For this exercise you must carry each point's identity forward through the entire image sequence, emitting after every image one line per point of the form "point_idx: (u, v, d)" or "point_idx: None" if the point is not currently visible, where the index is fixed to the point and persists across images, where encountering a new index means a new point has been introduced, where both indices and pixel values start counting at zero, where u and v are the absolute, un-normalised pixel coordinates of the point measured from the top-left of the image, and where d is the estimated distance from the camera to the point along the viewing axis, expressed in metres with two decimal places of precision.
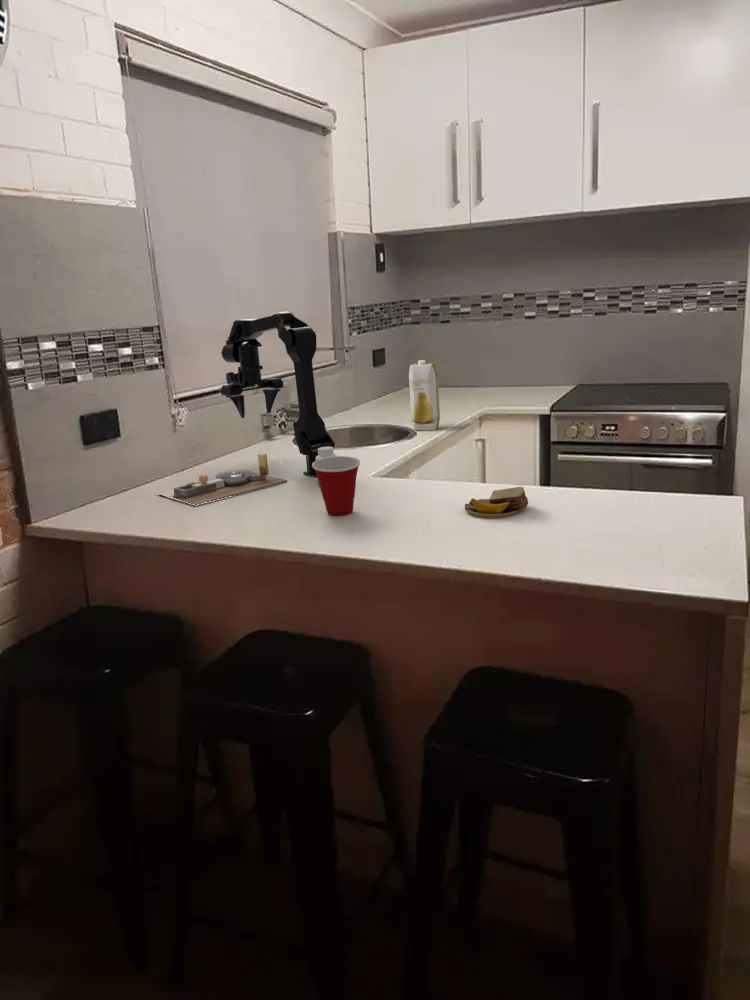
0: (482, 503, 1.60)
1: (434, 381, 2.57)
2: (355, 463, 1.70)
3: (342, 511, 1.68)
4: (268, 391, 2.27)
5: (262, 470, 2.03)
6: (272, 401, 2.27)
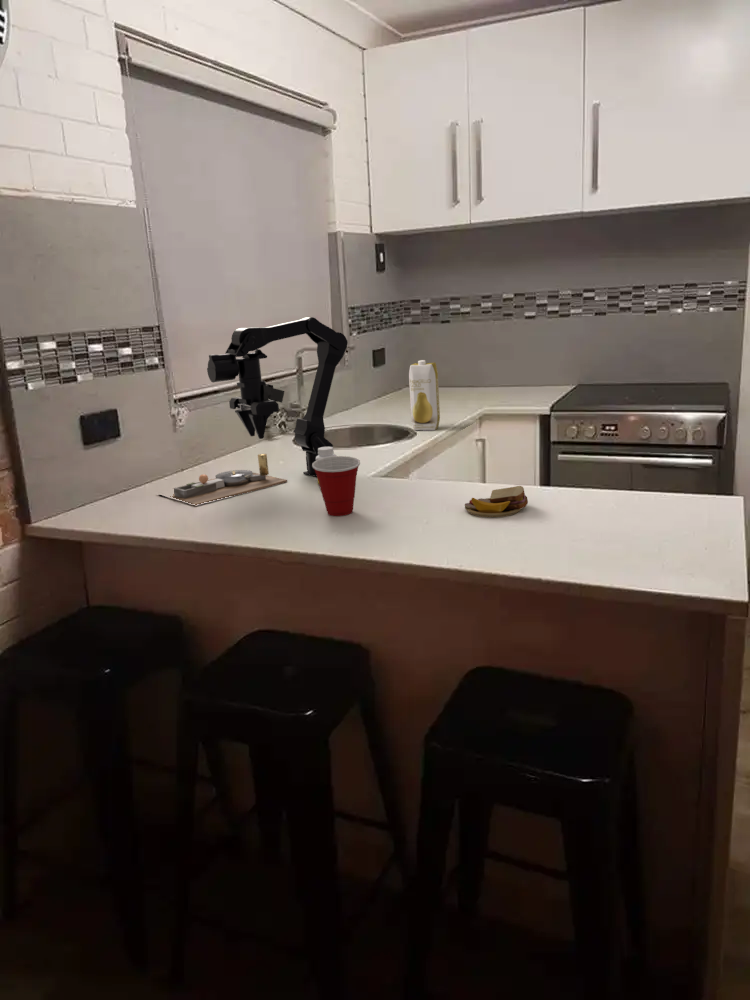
0: (482, 502, 1.61)
1: (434, 381, 2.57)
2: (355, 463, 1.70)
3: (342, 511, 1.68)
4: None
5: (262, 470, 2.03)
6: (254, 426, 1.93)
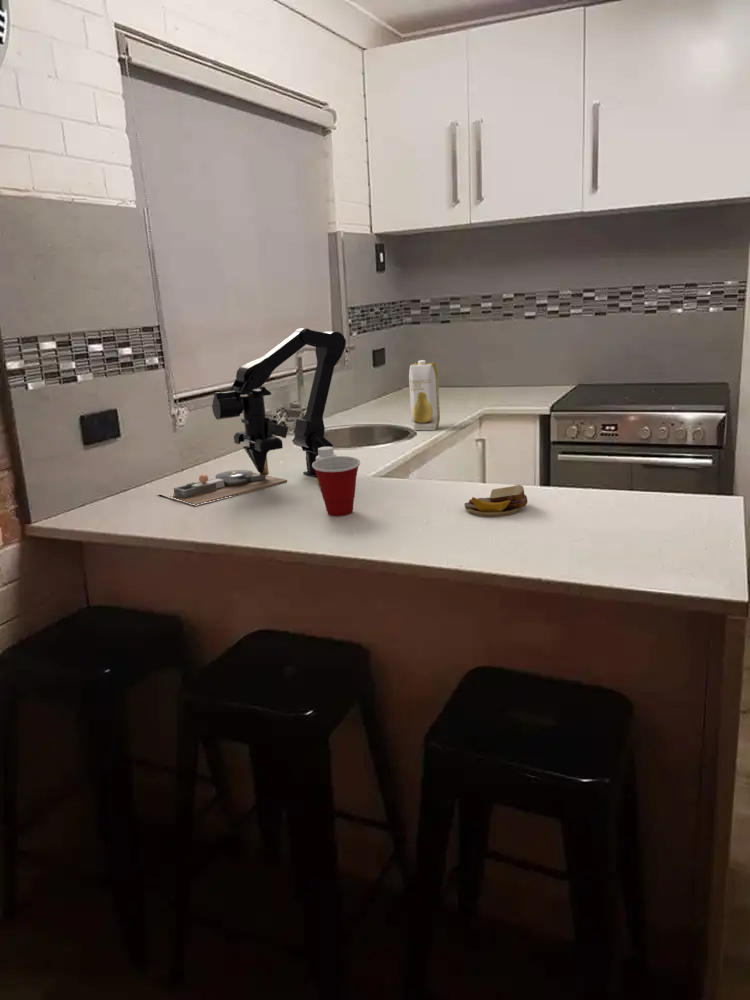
0: (483, 502, 1.61)
1: (434, 381, 2.57)
2: (355, 463, 1.70)
3: (342, 511, 1.68)
4: None
5: None
6: (254, 460, 1.98)
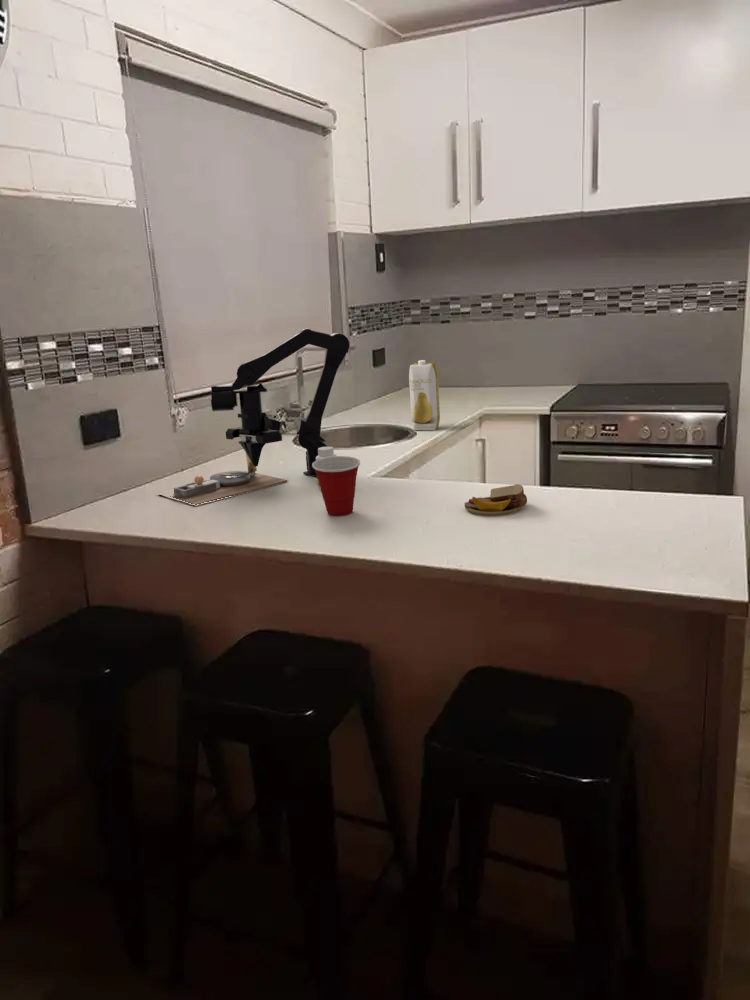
0: (483, 501, 1.62)
1: (434, 381, 2.57)
2: (355, 463, 1.70)
3: (342, 511, 1.68)
4: None
5: (254, 466, 2.09)
6: (250, 454, 2.04)
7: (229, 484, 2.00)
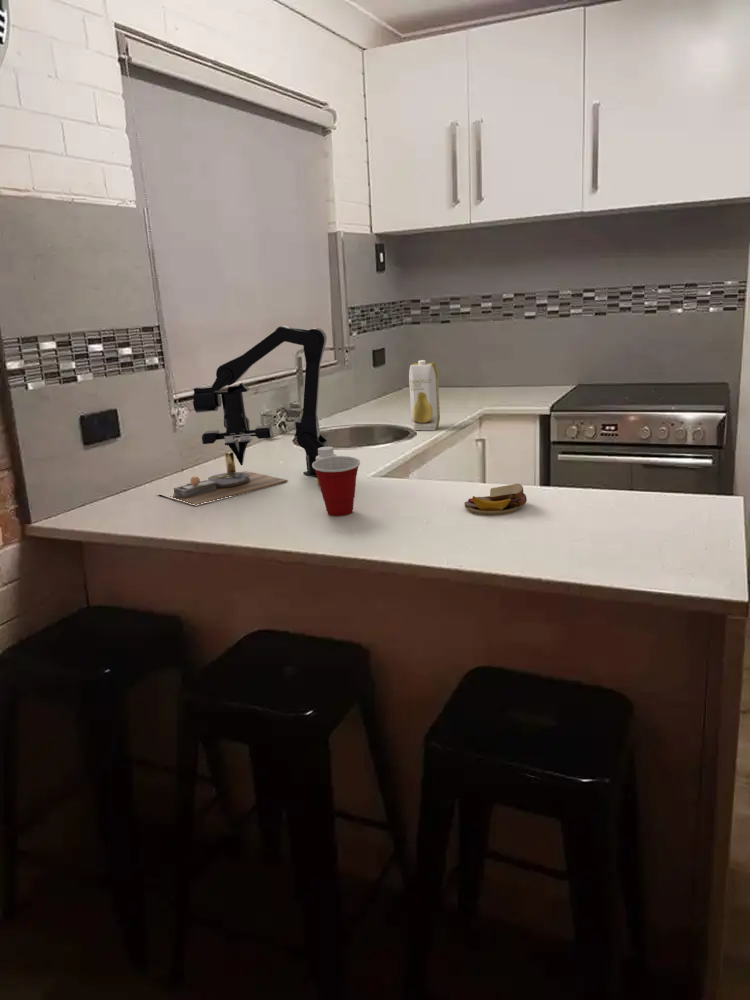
0: (483, 500, 1.62)
1: (434, 381, 2.57)
2: (355, 463, 1.70)
3: (342, 511, 1.68)
4: None
5: None
6: (241, 453, 2.07)
7: (241, 483, 2.00)
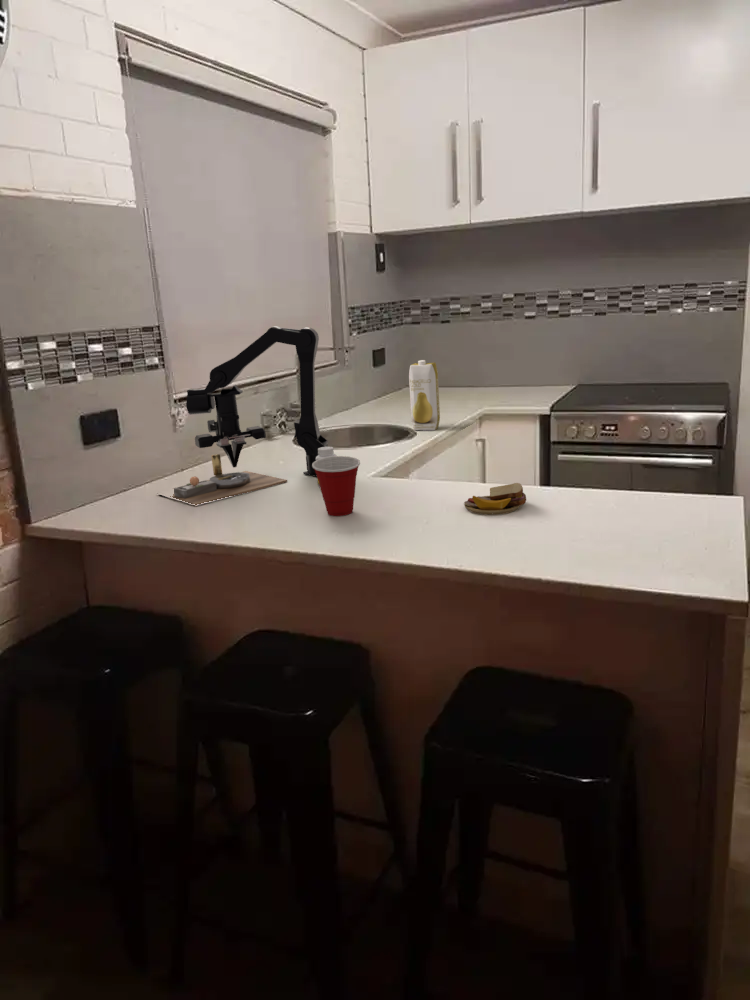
0: (483, 500, 1.62)
1: (434, 381, 2.57)
2: (355, 463, 1.70)
3: (342, 511, 1.68)
4: (234, 444, 2.09)
5: (221, 468, 2.09)
6: (237, 455, 2.08)
7: (246, 481, 2.02)
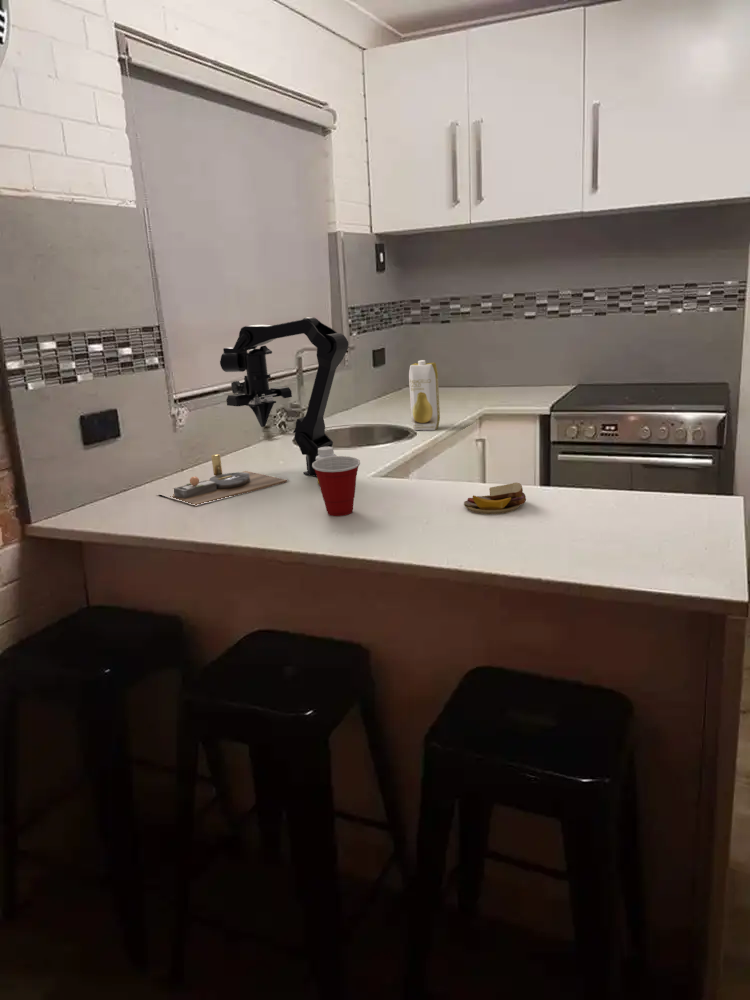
0: (484, 500, 1.63)
1: (434, 381, 2.57)
2: (355, 463, 1.70)
3: (342, 511, 1.68)
4: None
5: (221, 468, 2.09)
6: (267, 414, 2.13)
7: (246, 481, 2.02)
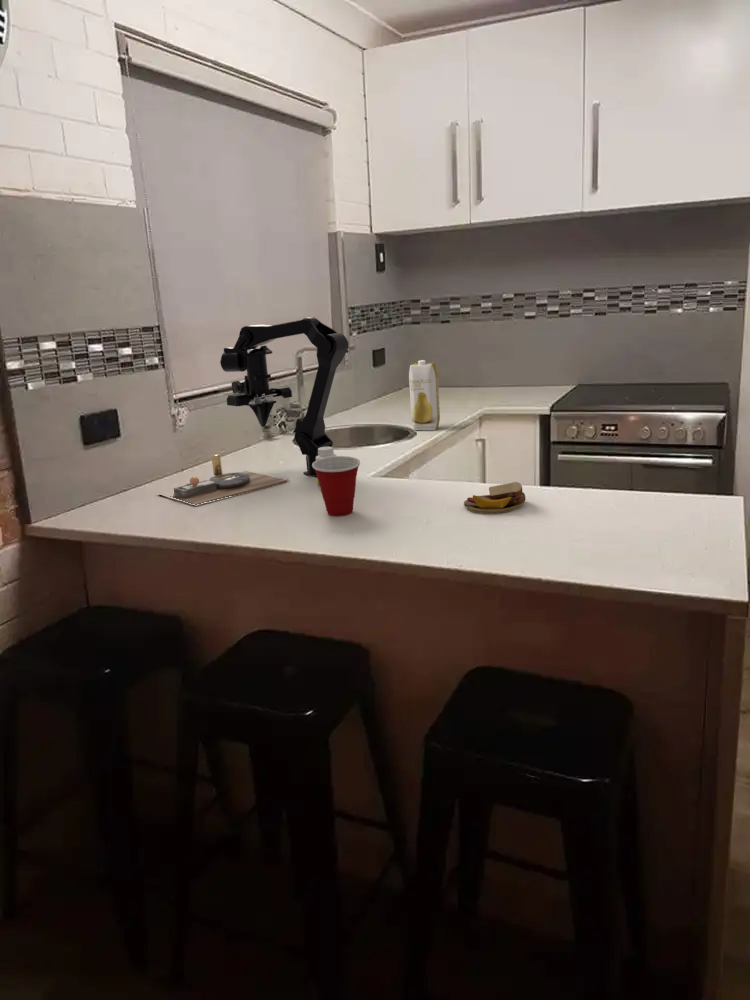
0: (484, 499, 1.63)
1: (434, 381, 2.57)
2: (355, 463, 1.70)
3: (342, 511, 1.68)
4: (263, 403, 2.13)
5: (221, 468, 2.09)
6: (267, 414, 2.13)
7: (246, 481, 2.02)
